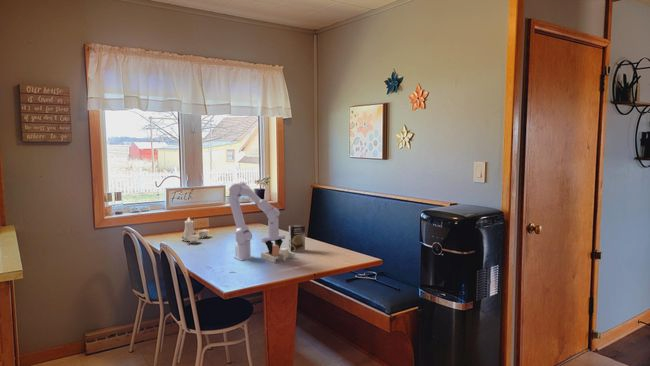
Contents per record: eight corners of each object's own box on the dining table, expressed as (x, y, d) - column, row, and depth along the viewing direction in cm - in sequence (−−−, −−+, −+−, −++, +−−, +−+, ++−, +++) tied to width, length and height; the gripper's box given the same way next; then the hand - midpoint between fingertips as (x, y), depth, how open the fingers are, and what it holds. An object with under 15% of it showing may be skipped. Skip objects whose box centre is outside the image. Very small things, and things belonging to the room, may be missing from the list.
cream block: (279, 257, 253) (278, 248, 252) (284, 256, 255) (284, 247, 255) (282, 258, 249) (282, 250, 249) (288, 257, 252) (288, 249, 251)
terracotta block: (269, 255, 248) (269, 245, 248) (275, 254, 251) (275, 244, 250) (273, 257, 245) (272, 246, 244) (279, 256, 247) (278, 245, 247)
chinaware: (199, 247, 289) (200, 222, 287) (174, 245, 289) (175, 220, 287) (210, 238, 317) (212, 215, 315) (187, 236, 317) (189, 213, 315)
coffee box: (290, 253, 265) (290, 226, 263) (288, 250, 271) (288, 225, 269) (305, 252, 267) (305, 226, 266) (303, 249, 273) (302, 224, 272)
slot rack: (259, 258, 252) (259, 252, 252) (281, 254, 261) (281, 248, 261) (274, 264, 240) (274, 258, 239) (297, 259, 249) (297, 253, 249)
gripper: (266, 232, 239) (266, 256, 240) (288, 229, 248) (288, 252, 249) (259, 230, 244) (260, 254, 246) (281, 227, 253) (281, 250, 255)
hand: (274, 253), depth 248 cm, fingers closed on terracotta block, 4 cm apart
